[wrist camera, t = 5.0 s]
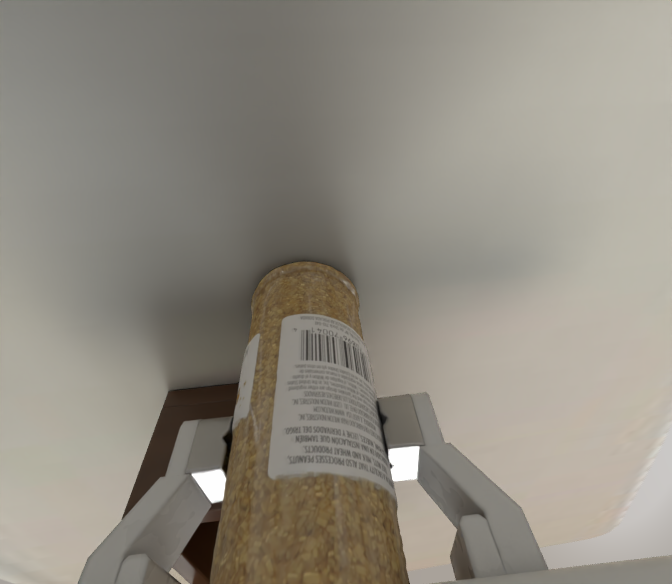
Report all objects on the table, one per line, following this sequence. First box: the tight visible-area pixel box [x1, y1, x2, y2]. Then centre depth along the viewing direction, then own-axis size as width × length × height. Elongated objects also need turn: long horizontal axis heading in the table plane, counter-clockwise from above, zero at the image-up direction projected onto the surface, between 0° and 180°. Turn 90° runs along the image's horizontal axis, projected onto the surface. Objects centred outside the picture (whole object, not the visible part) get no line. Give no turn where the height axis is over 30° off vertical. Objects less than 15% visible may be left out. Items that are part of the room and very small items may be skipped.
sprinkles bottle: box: [210, 261, 410, 584], centre depth 10 cm, size 5×5×14 cm
